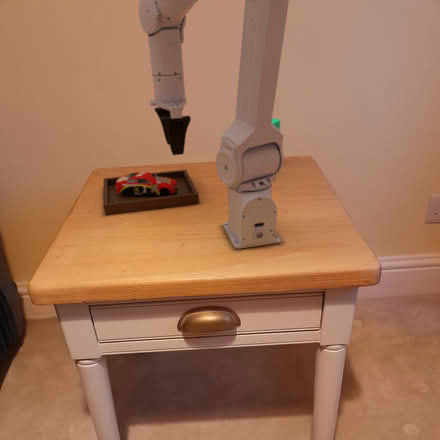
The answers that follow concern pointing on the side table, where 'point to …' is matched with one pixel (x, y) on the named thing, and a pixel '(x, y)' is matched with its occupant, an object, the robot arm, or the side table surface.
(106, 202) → the tray
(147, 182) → the race car
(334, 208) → the side table surface
